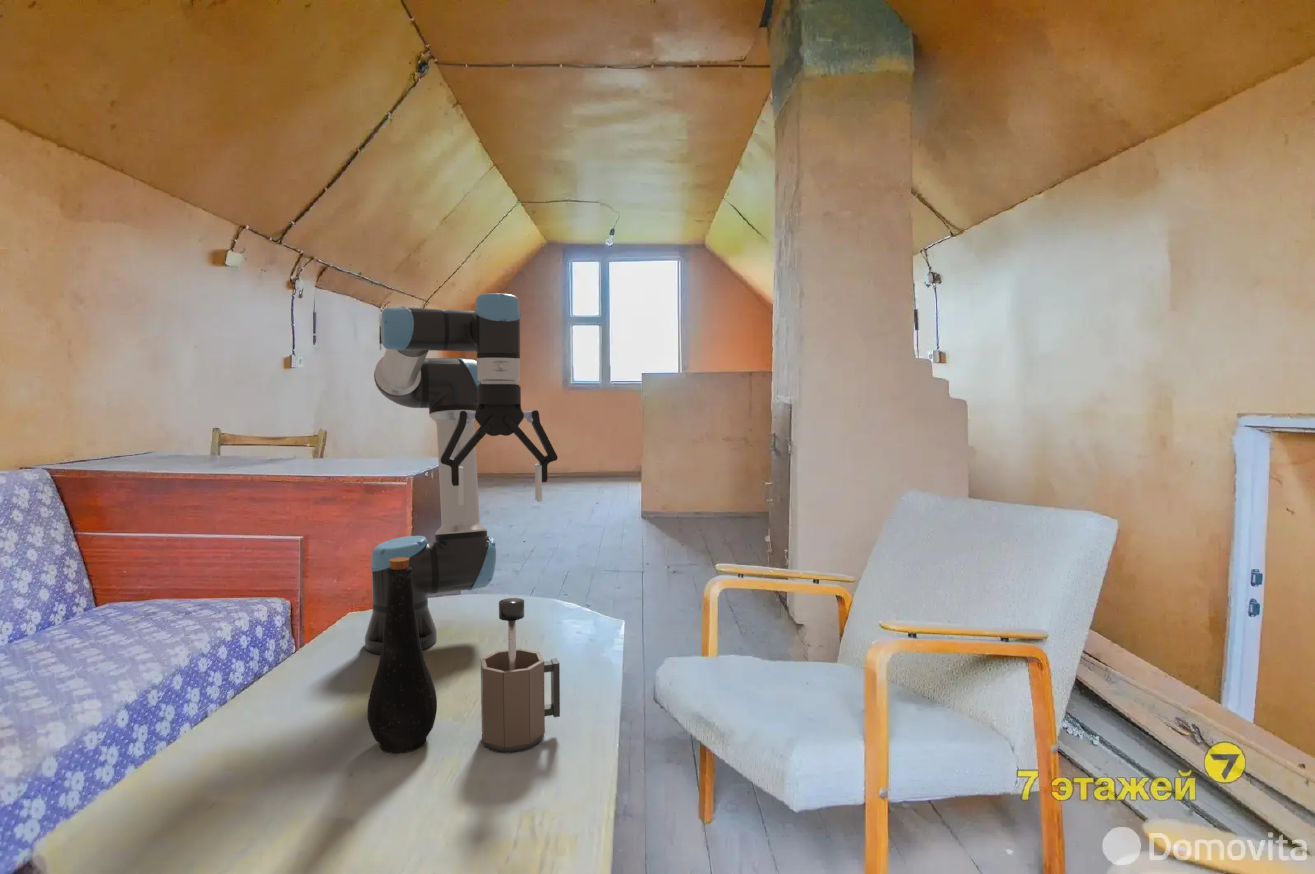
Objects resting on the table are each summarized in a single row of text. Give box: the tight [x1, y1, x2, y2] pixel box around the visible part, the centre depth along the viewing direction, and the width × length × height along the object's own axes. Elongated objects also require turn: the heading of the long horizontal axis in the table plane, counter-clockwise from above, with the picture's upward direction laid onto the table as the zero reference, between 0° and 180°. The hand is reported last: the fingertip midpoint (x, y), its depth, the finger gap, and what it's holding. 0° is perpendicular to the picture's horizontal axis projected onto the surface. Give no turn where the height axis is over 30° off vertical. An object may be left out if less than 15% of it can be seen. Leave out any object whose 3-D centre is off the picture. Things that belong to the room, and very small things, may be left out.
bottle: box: [367, 557, 438, 755], centre depth 116 cm, size 11×11×30 cm
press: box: [480, 648, 561, 754], centre depth 118 cm, size 10×12×13 cm
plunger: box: [498, 597, 525, 670], centre depth 118 cm, size 7×7×21 cm
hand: (500, 502), depth 129 cm, fingers open, 13 cm apart
